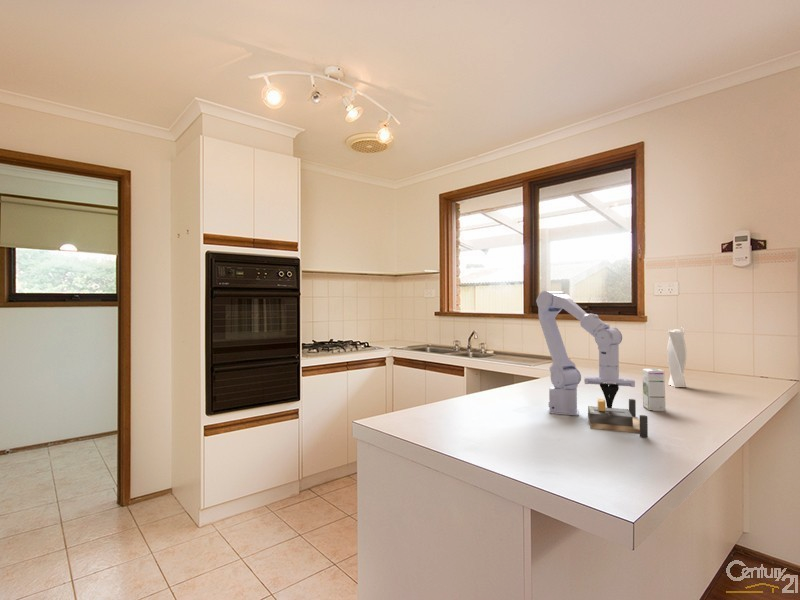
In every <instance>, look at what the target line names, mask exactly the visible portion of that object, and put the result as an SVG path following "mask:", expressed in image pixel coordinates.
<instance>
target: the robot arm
mask: <svg viewBox="0 0 800 600" xmlns="http://www.w3.org/2000/svg"><path fill="white" fill-rule="evenodd" d="M535 302H536V306H537V307H538V309H537V310H538V320H539V324H540V326H541V327H540V328H541V330H542V332H543V336H544V338H545V342H546V345H547V349H548V350H549V354H550V357H551V360H552V364H551V365H550V367H549V371H550V376H549V378H550V382H551V384H552V385H553V386H549V390H548V391H549V393H548V394H549V395H548V396H549V397H548V398H549V401H548V408H549V410H548V411H549V414H553V415H554V414H555V415H567V416H577V417H578V416H579V409H578V387H579V384H580V382H581V381H582V374H581V372H580V371H579V369H578V368H577V367H576V363H574V362H573V361H572V360H570V358H569V356H568V352H567V350H566V347H565V344H564V341H563V338H562V335H561V332H560V329H559V326H558V323H557V321H556V317H557V315H558V314H559V313H560V312H561V311H562V310H564V311H565V312H567V313H568V314H570V315H571V316H573V318H576V319H577V321H579V322H580V324H579V325H580V327H581V328H582V329H583V330H585V331H586V332H588V333H589V334H590V335H591V336H592V337H593V338H594V342H595V344H596V345H597V349H598V368H599V369H598V373H599V374H598V376H599V377H596V376H595V377H594V376H593V377H588V376H586V377H584V379H583V380H584V382H583V383H584V385H599V387H600V389H601V392H602V393H603V396H604V400H605V405H606V408H613V403H614V400H615V398H616V395H617V393H618V391H619V390H620V387H630V388H635V387H636V381H635V380H634V379H625V378H620V374H619V373H620V370H619V369H620V367H619V365H620V363H619V362H620V361H619V353H620V352H619V351H620V350H619V349H620V348H619V345H620V344H621V343H622V340H623V334H622V332H621V331H620V330H619V329H618V328H616V327H610V324H609V323H605V322H604V321H603V320H602V319H600V317H599V315H598V314H596V313H595V314H594V313H588V312H586V311H585V310H584V309H582V307H580V305H579V304H577V303H576V301H574V300H573V299H572V298H571V297H570V295H569V294H566V292H564V291H562V290H558V291H557V290H556V291H555V290H554V291H553V290H552V291H551V290H550V291H548V290H542V291H540V292H539V294H538V295H537V297H536V300H535Z"/></svg>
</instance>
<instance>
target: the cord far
mask: <svg viewBox="0 0 800 600" xmlns="http://www.w3.org/2000/svg"><path fill="white" fill-rule="evenodd" d="M636 405H637V403H636V399H633V398H629V399H628V410H629V412H630V413H631V415H632V417H637V416H636V415H637V414H636V412H637V411H636Z"/></svg>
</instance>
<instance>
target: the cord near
mask: <svg viewBox="0 0 800 600" xmlns="http://www.w3.org/2000/svg"><path fill="white" fill-rule="evenodd" d="M648 418H649V417H648V415H643V414H641V415H639V421H640V433H639V437H640V438H643V439H646V438H648V437H649V436H648V435H649V433H648V431H649V430H648V424H649V423H648V421H649V420H648Z"/></svg>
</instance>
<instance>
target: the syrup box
mask: <svg viewBox="0 0 800 600" xmlns="http://www.w3.org/2000/svg"><path fill="white" fill-rule="evenodd" d="M641 370H642V400H643V402H642V403H643V408H645V410H648V411H650V410H653V412H666V409H667V408H666V384H665V383H666V378H665V377H666V376H665V371H664V370H662V369H659V368H642V369H641Z"/></svg>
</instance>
